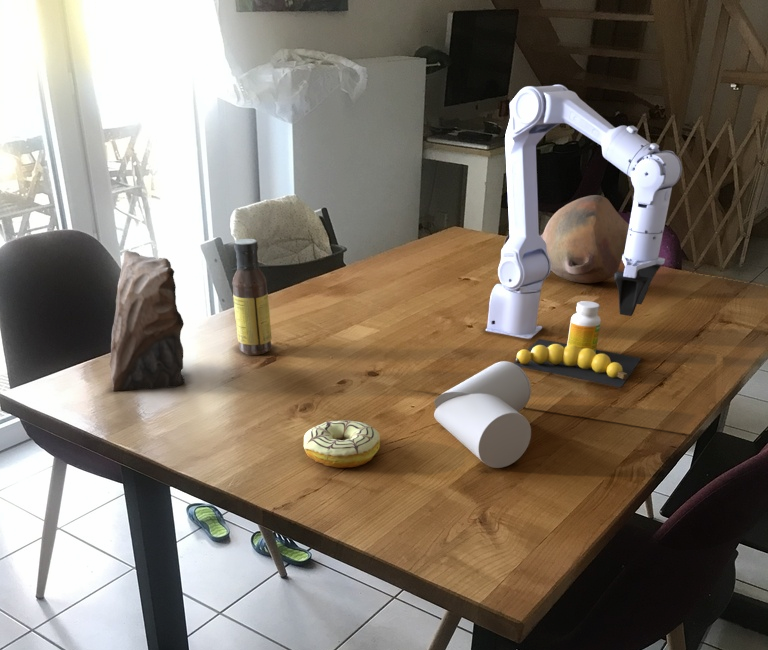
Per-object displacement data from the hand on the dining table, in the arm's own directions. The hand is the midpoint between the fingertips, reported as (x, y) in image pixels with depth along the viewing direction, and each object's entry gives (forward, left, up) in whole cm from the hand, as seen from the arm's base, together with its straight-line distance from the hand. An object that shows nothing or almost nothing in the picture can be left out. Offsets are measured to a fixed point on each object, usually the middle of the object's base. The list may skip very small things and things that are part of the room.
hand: (630, 308), depth 143 cm
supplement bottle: (-8, 0, -10) cm, 13 cm away
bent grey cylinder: (-11, -40, -11) cm, 43 cm away
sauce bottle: (-62, -29, -11) cm, 69 cm away
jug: (-27, +50, -11) cm, 58 cm away
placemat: (-7, -4, -10) cm, 13 cm away
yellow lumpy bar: (-8, -8, -10) cm, 15 cm away
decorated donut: (-27, -57, -11) cm, 64 cm away
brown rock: (-70, -50, -11) cm, 86 cm away
